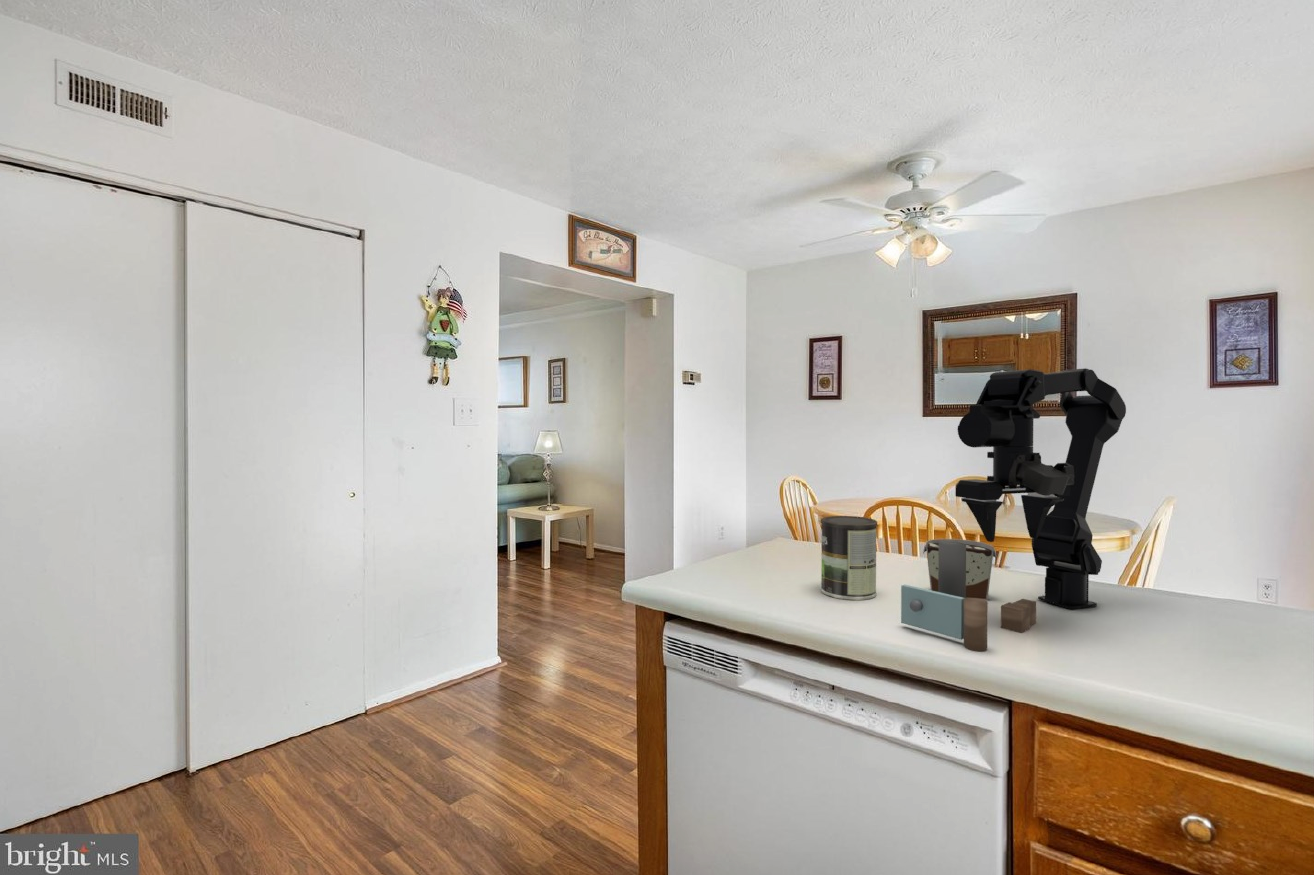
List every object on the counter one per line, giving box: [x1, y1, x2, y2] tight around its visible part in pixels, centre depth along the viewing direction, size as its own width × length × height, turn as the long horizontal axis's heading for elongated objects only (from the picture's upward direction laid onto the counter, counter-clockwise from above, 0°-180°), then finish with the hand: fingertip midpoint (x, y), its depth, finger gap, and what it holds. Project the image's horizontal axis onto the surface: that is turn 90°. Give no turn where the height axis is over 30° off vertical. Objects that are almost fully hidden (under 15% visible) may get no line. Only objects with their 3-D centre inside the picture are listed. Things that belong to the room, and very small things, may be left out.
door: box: [900, 584, 965, 641], centre depth 91 cm, size 10×2×6 cm, turn 37°
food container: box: [922, 538, 998, 602], centre depth 114 cm, size 12×6×10 cm, turn 71°
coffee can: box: [820, 515, 878, 601], centre depth 115 cm, size 10×10×14 cm
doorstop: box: [938, 541, 966, 598], centre depth 97 cm, size 6×6×13 cm
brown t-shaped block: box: [963, 598, 1037, 652], centre depth 92 cm, size 20×3×7 cm, turn 127°
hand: (1012, 539), depth 99 cm, fingers open, 9 cm apart
